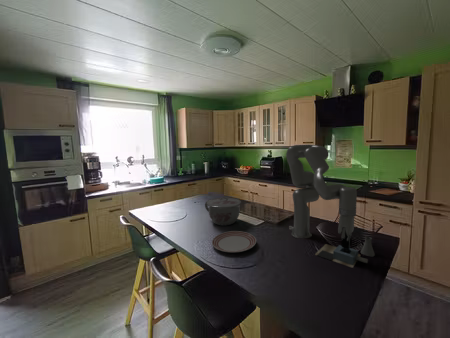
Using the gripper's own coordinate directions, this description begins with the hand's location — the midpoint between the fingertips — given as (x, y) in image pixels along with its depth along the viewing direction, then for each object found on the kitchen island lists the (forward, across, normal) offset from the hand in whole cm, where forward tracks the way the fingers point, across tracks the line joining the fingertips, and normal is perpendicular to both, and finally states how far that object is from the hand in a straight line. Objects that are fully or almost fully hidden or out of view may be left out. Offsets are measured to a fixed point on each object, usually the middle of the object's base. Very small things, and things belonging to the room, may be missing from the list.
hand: (346, 245), depth 108 cm
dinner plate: (+8, +26, -55) cm, 62 cm away
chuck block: (+7, 0, +2) cm, 7 cm away
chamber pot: (+7, +4, -86) cm, 87 cm away
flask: (+8, -13, +7) cm, 17 cm away
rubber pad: (+7, +4, -8) cm, 11 cm away
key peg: (+3, 0, 0) cm, 3 cm away
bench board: (+8, -1, -4) cm, 9 cm away
